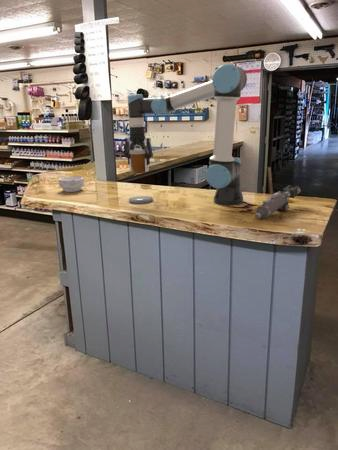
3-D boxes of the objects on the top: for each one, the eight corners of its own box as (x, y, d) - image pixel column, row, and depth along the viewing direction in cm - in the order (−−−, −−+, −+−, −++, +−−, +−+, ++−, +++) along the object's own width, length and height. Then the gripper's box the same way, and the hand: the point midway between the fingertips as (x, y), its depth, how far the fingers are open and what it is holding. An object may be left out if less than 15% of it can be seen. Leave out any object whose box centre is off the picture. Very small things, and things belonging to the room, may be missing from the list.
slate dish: (156, 198, 203) (156, 196, 203) (147, 204, 192) (147, 202, 191) (134, 197, 208) (134, 195, 207) (124, 203, 196) (124, 201, 195)
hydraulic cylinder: (301, 200, 181) (301, 181, 177) (264, 230, 158) (263, 208, 154) (287, 198, 186) (287, 179, 182) (249, 227, 163) (248, 206, 159)
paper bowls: (87, 188, 238) (86, 175, 236) (80, 193, 224) (78, 180, 221) (65, 188, 240) (63, 176, 237) (56, 193, 225) (54, 180, 223)
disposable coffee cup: (145, 173, 190) (144, 150, 186) (128, 173, 191) (126, 150, 188) (150, 170, 198) (149, 148, 195) (133, 170, 200) (132, 148, 197)
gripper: (158, 125, 188) (160, 170, 195) (121, 126, 195) (124, 169, 201) (153, 126, 181) (155, 172, 188) (115, 127, 188) (118, 171, 195)
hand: (139, 170), depth 195 cm, fingers closed on disposable coffee cup, 8 cm apart
